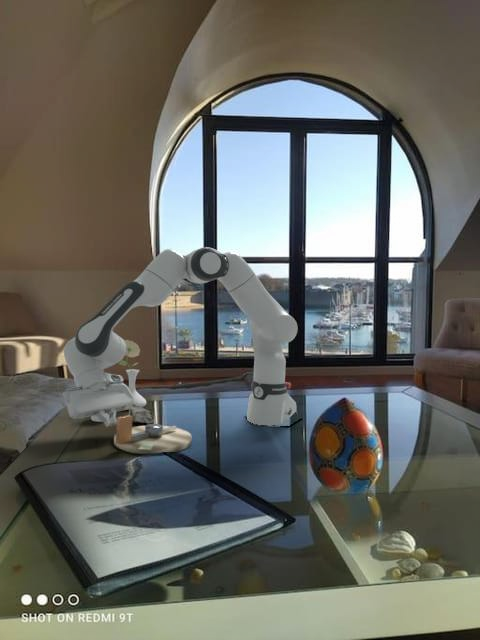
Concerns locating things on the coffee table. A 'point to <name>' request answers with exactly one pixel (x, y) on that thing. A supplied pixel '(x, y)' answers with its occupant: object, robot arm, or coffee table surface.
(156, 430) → the grey pivot bar
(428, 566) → the coffee table surface
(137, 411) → the mineral rock
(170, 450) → the stand
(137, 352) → the flower in vase
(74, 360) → the robot arm
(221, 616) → the coffee table surface
